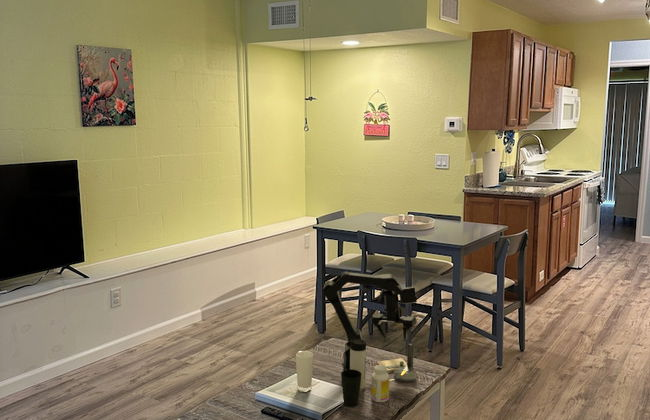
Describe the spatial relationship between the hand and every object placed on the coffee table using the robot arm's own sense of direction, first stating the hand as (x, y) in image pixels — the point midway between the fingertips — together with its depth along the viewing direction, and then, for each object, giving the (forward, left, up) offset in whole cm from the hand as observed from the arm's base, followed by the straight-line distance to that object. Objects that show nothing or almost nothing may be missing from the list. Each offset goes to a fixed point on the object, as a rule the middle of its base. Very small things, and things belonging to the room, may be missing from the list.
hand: (395, 339), depth 253 cm
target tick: (-6, -11, -13) cm, 18 cm away
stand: (0, +1, -13) cm, 13 cm away
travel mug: (-22, -12, -13) cm, 28 cm away
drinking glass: (-43, -7, -13) cm, 45 cm away
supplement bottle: (-17, -23, -13) cm, 32 cm away
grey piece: (+1, -9, -13) cm, 15 cm away
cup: (-29, -23, -13) cm, 39 cm away
